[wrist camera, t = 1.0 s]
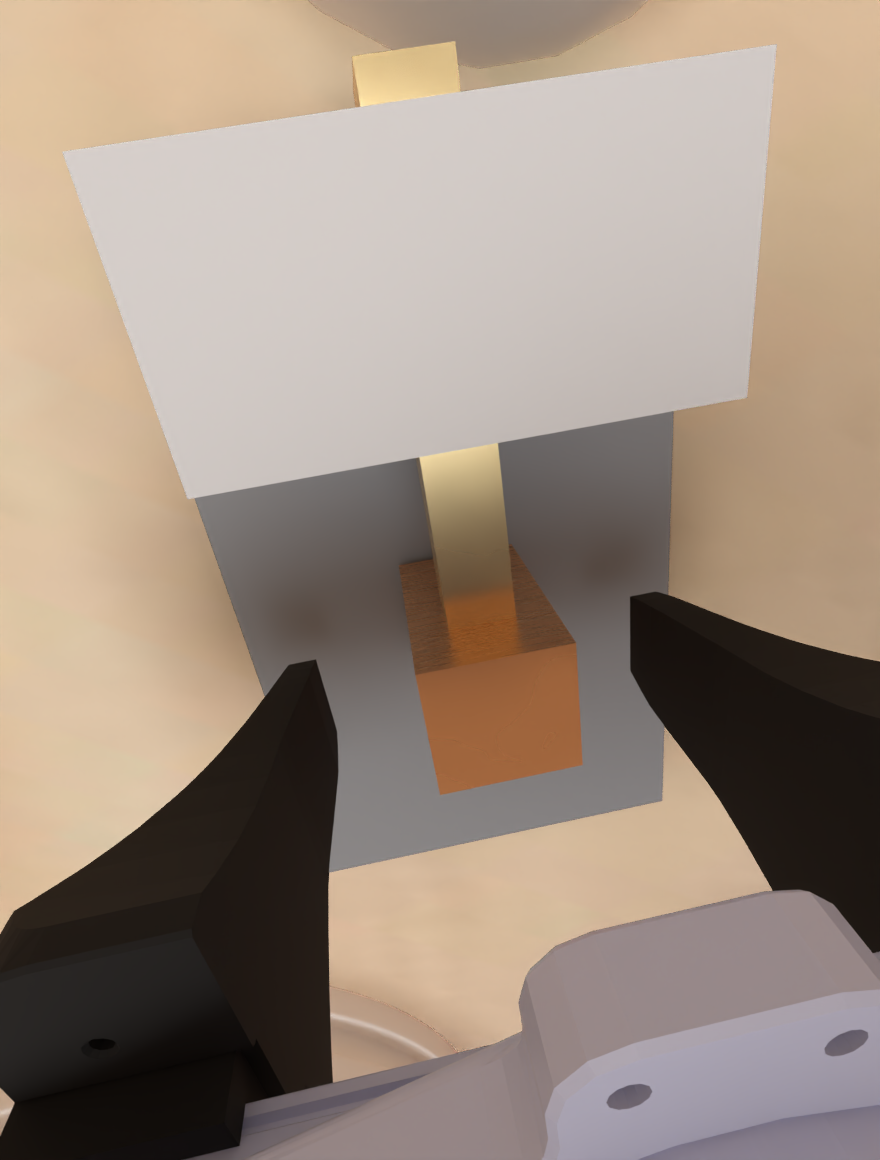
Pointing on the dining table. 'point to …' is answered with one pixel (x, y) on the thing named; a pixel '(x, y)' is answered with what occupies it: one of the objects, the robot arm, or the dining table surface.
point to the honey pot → (482, 25)
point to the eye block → (444, 380)
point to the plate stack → (359, 1040)
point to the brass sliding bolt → (476, 573)
